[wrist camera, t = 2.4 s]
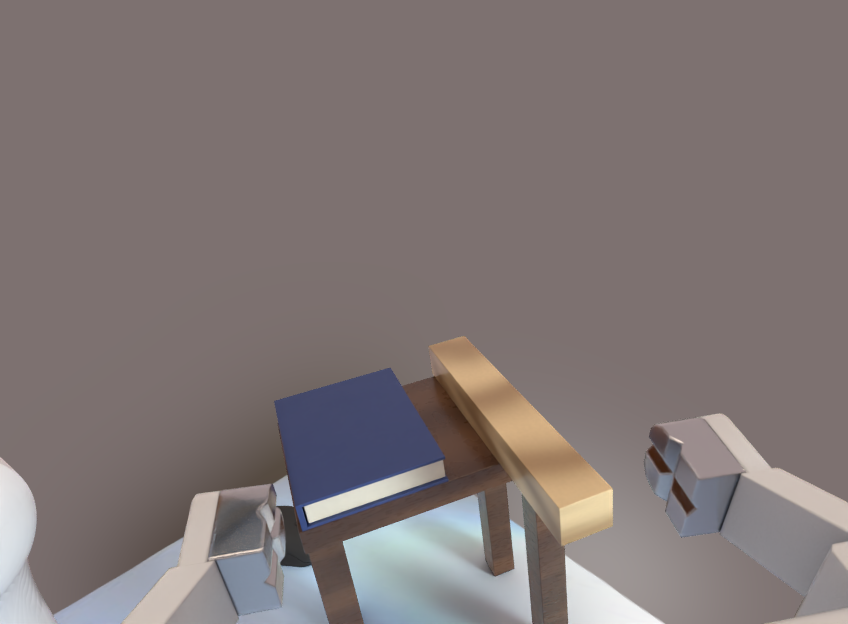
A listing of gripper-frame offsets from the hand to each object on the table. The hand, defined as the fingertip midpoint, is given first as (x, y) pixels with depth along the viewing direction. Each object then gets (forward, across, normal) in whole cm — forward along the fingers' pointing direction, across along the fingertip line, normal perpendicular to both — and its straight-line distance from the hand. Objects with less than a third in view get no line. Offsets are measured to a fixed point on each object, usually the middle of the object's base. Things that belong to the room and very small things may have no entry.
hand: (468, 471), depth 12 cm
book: (+25, -4, -24) cm, 35 cm away
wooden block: (+23, +8, -24) cm, 34 cm away
